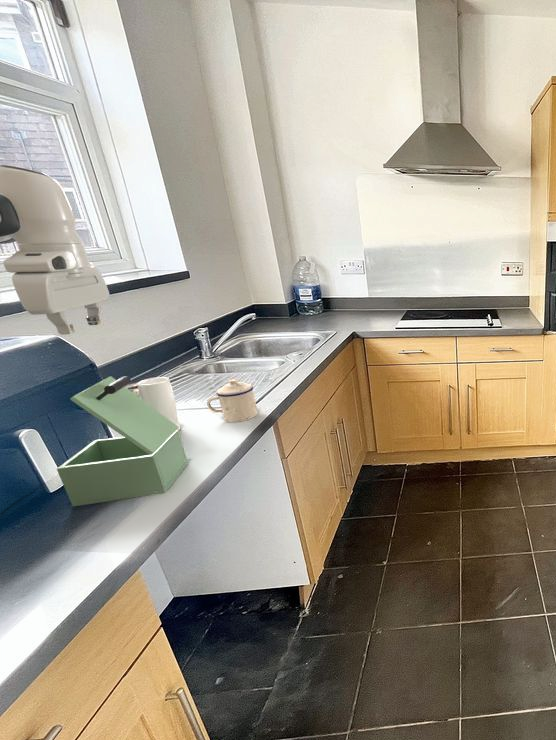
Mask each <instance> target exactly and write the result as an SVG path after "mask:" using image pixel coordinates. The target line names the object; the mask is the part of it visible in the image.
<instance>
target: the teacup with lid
mask: <svg viewBox="0 0 556 740" xmlns="http://www.w3.org/2000/svg"><path fill="white" fill-rule="evenodd" d="M254 393H255V392H254V386H253V385H252V384H251V383H248V382H241V381H238V380H237V379H236V378H233V379H229V380H228V383H226V384H225V385H224V386H221V387H219V388H218V389H217V390H216V395H217V396H212V397H209V399H208V400H207V401H206V406H207V409H208V410H209V411H211V412H212V413H215V414H222V416H223V419H224V421H226V422H229V423H240V422H244V421H248V420H250V419H253V418H255V417H256V416H257V415H258V414H259V412H258V407H257V403H256V398H255V394H254ZM216 400H218V401H219V404H220V408H221V409H216V408H214V407H212V405H211V403H212V401H216Z"/></svg>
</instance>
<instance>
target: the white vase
mask: <svg viewBox="0 0 556 740" xmlns="http://www.w3.org/2000/svg"><path fill="white" fill-rule="evenodd" d="M136 383H137V386H138V390H139V393H140V396H141V399H142V400H143V401H145V402H146V403H147V404H149V405H150V406H151V407H153V408H154V409H155V410H157V411H158V412H159V413H161V414H162V415H163V416H165V417H166V418H167V419H169V420H170V421H171V422H173V423H174V424H175V425H177V426H178V427H179V428H178V429H177V430H178V431H180V429H181V424H180V420H179V415H178V410H177V405H176V399H175V393H174V389H173V387H172V383H171V380H170V378H169V377H167V376H157V377H149V378H145V379H143V380H140V381H138V382H136ZM177 430H176V431H177Z"/></svg>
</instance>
